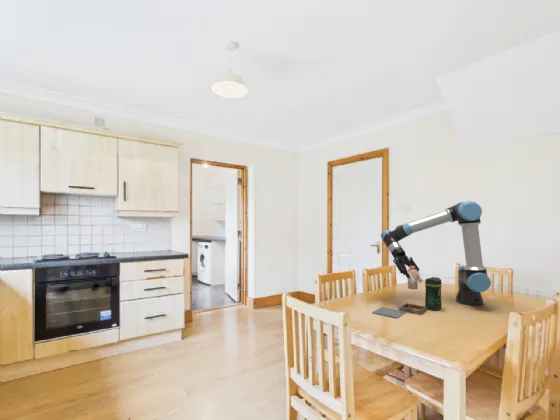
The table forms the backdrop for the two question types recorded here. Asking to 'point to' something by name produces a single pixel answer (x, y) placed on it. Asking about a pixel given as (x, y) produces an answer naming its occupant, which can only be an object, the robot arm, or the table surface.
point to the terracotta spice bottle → (414, 275)
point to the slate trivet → (389, 312)
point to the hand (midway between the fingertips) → (417, 282)
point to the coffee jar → (433, 293)
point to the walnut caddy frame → (404, 308)
